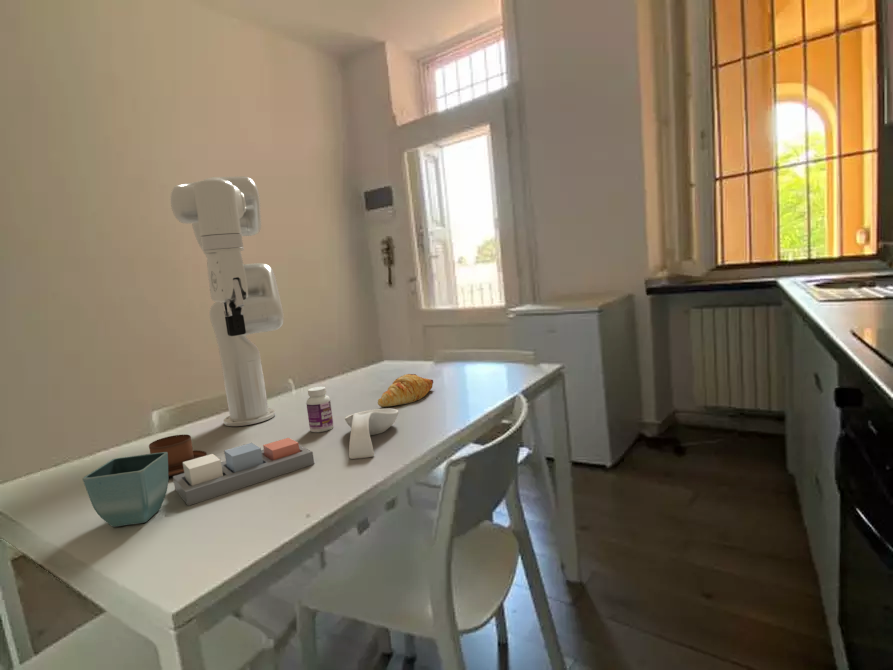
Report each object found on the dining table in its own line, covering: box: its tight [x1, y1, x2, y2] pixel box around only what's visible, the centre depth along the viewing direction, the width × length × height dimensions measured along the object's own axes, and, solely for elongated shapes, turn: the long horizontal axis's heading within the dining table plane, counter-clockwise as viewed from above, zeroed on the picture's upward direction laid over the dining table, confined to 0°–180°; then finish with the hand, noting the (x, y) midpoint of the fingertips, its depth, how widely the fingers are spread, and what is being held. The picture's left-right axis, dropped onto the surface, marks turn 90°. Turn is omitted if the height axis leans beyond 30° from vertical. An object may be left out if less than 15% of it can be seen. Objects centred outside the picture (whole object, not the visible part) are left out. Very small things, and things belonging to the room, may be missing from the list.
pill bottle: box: [305, 386, 334, 433], centre depth 120 cm, size 5×5×10 cm
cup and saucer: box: [148, 434, 208, 478], centre depth 103 cm, size 12×12×6 cm
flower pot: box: [82, 452, 169, 528], centre depth 82 cm, size 9×9×9 cm
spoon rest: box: [344, 407, 399, 460], centre depth 110 cm, size 24×12×7 cm, turn 2°
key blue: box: [223, 442, 263, 472], centre depth 95 cm, size 5×5×3 cm
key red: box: [262, 437, 300, 461], centre depth 100 cm, size 5×5×3 cm
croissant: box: [377, 373, 434, 408], centre depth 141 cm, size 21×10×8 cm, turn 143°
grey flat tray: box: [172, 444, 315, 507], centre depth 96 cm, size 10×22×2 cm, turn 129°
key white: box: [183, 453, 223, 486], centre depth 91 cm, size 5×5×3 cm
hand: (237, 334), depth 108 cm, fingers closed
